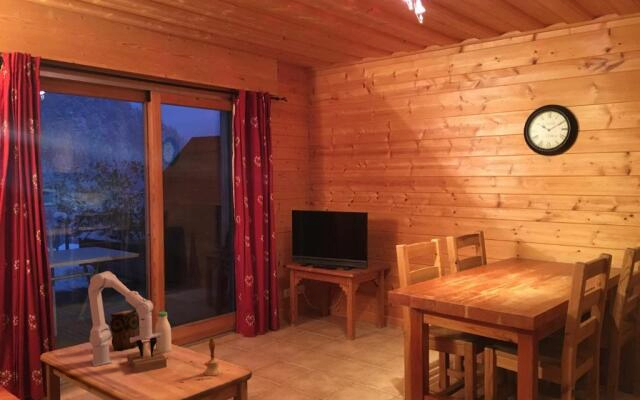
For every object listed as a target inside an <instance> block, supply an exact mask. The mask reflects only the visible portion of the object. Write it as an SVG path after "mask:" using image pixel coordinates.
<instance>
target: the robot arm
mask: <svg viewBox="0 0 640 400" xmlns="http://www.w3.org/2000/svg"><path fill="white" fill-rule="evenodd" d="M89 282H90V283H89V285H88V289H87V290H88V291H87V292H88V299H89V307H90V313H91V314H90V315H91V321H92V328H91V330H90V332H89V333H90V336H89V343H90V344H91V346H92V359H91V360H90V361H91V363H92V366H94V367H97V366H102V365H108V364H112V360H111V358H110V340H111V339H112V330H111V329H110V327H109V324H107V323H106V318H105V312H104V304H103V297H102V291H103V290H104V289H105V288H112V289H114V290H116V292H118V293H120V294H121V295H122V296H124V297H125V301H126V302H127V303H128V304H130V305H131V306H132V307H133V308H134V309H136V314H137V315H138V317H139V325H138V326H139V327H138V329H139V330H140V335H139V336H135V337H132V338H130V342H131V343H133V342H136V344H137V346H138V347H137V348H138V352H139V351H140V355H141V356H143V343H142V342H143V341H151V354H153V350H154V349H155V347H156V342H157V339H156V338H162V333H155V332H154V333H153V321H152V320H153V317H152V311H153V310H154V303H153V302H152V300H150V299H146V298H144V297H142V295H140V294H139V292H138V291H135V290H130V289H129V288H127V286H126V285H124V284H123V283H122V281H120V280H119V279H118V278H117V276H116V275H115V274H113V272H111V271H109V270H106V271H103V272H101V273H96V274H94V275H93V276H92V277H91V278H90V279H89Z"/></svg>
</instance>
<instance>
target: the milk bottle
mask: <svg viewBox="0 0 640 400" xmlns="http://www.w3.org/2000/svg"><path fill="white" fill-rule="evenodd" d="M157 318H158V319H157V323H156V325H155V330H154V331H155V332H154V333H162V338H156V339H157V342H156V344H155V348H157V349H158V350H159V351H160V352H161V353H162V354H166V353H169V352H171V351H172V329H171V325H170V324H171V323H170V322H169V321H168V312H167V311H160V312H158V313H157Z"/></svg>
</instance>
